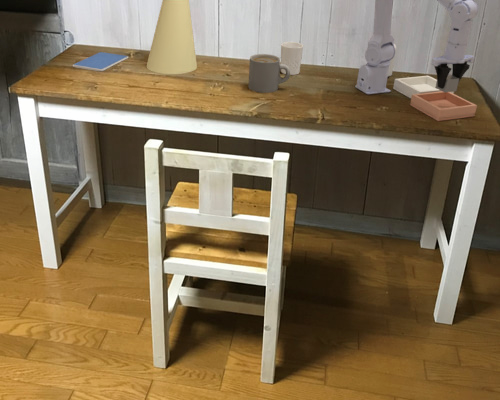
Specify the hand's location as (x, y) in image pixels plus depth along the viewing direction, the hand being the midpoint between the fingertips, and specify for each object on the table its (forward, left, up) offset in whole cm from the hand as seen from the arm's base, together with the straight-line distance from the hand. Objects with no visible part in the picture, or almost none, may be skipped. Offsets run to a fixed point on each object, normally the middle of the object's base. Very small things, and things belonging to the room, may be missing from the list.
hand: (447, 86), depth 174 cm
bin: (0, 0, -8) cm, 8 cm away
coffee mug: (-45, +34, -8) cm, 57 cm away
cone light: (-68, +68, -8) cm, 97 cm away
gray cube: (0, 0, -1) cm, 1 cm away
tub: (+4, +15, -8) cm, 17 cm away
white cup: (-30, +48, -8) cm, 57 cm away
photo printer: (0, +35, -8) cm, 36 cm away
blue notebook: (-93, +77, -9) cm, 121 cm away
